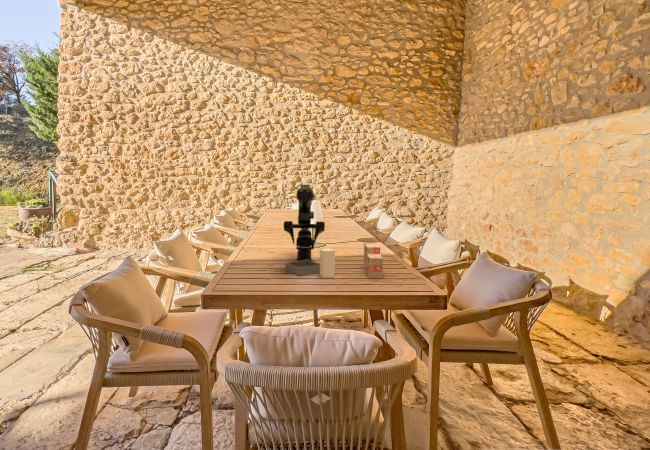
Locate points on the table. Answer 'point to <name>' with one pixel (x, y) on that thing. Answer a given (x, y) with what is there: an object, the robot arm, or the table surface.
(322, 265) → the cream block
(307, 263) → the grey square tray
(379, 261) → the stack of blocks
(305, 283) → the table surface
